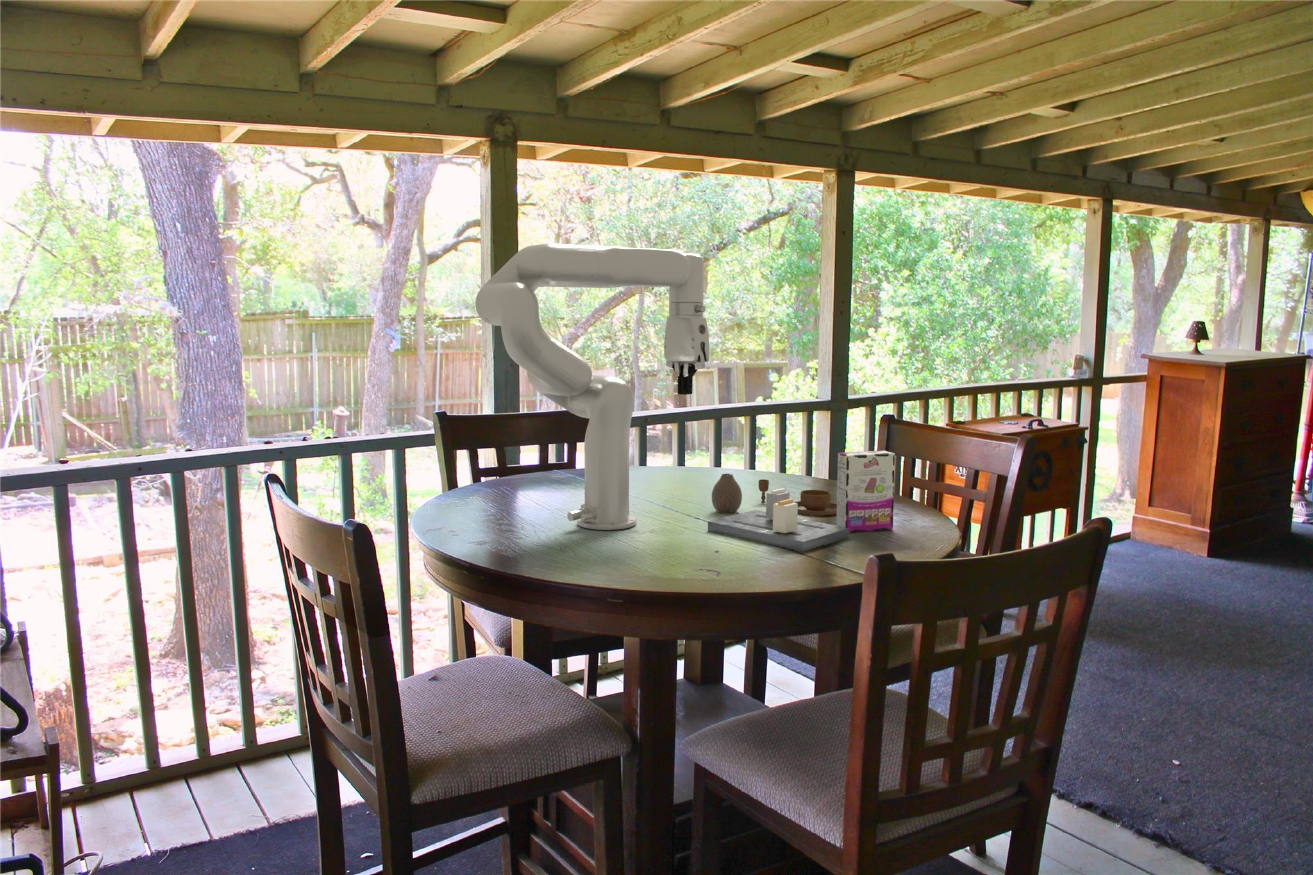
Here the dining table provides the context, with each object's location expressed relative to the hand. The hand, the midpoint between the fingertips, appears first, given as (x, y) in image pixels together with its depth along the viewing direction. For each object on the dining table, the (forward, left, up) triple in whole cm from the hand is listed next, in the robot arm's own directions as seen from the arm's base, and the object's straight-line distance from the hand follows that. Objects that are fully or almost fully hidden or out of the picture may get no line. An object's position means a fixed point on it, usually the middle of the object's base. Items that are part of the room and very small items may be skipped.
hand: (685, 394), depth 203 cm
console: (-1, -27, -27) cm, 38 cm away
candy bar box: (+16, -37, -27) cm, 49 cm away
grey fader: (+3, -24, -25) cm, 35 cm away
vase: (+8, -6, -27) cm, 29 cm away
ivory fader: (-5, -32, -25) cm, 41 cm away
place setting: (+26, -16, -28) cm, 41 cm away
